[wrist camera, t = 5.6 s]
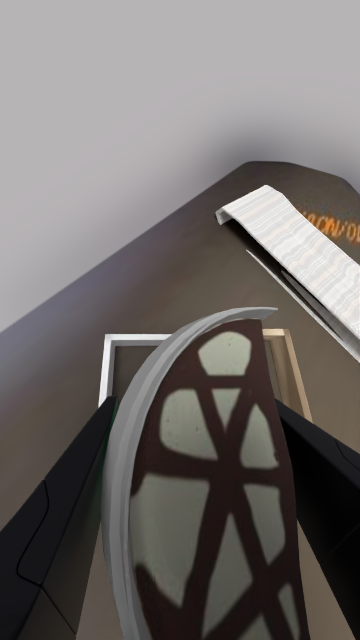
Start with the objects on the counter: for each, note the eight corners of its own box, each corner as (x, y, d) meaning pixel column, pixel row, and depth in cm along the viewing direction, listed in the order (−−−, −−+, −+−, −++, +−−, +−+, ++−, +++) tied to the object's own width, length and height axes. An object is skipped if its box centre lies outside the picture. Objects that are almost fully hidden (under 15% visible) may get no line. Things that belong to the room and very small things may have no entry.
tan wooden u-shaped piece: (273, 335, 26) (288, 329, 23) (301, 460, 21) (325, 471, 18) (208, 335, 24) (216, 328, 21) (222, 471, 19) (235, 486, 16)
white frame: (178, 340, 23) (182, 334, 20) (184, 471, 19) (190, 485, 16) (110, 341, 22) (105, 334, 19) (98, 482, 17) (89, 500, 14)
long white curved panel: (437, 409, 22) (219, 200, 29) (397, 406, 26) (211, 220, 33) (460, 347, 27) (265, 177, 33) (423, 352, 30) (254, 198, 37)
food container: (121, 339, 15) (129, 267, 6) (191, 346, 17) (275, 296, 8) (94, 546, 11) (-22, 1362, 2) (192, 526, 12) (390, 876, 3)
